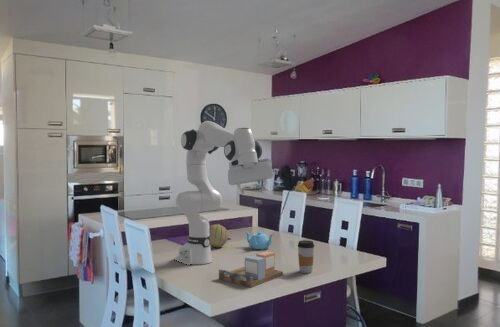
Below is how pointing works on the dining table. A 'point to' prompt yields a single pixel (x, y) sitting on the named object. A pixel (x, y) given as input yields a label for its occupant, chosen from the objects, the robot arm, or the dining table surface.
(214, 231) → the cantaloupe
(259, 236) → the teapot
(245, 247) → the dining table surface
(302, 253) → the coffee cup
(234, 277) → the shelf plank
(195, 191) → the robot arm
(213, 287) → the dining table surface
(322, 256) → the dining table surface
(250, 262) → the slate-blue carton
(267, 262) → the terracotta carton
